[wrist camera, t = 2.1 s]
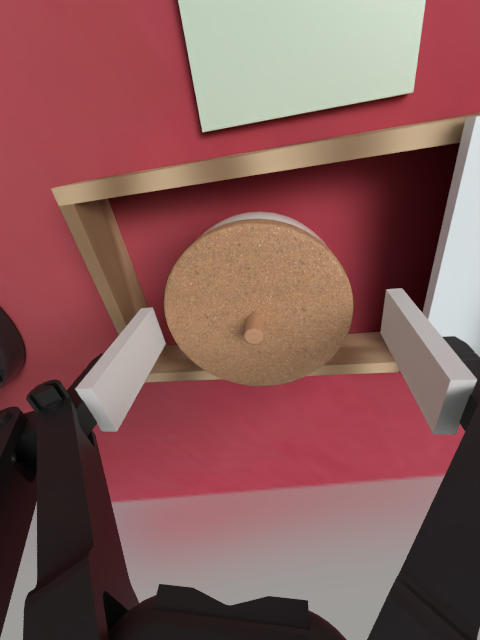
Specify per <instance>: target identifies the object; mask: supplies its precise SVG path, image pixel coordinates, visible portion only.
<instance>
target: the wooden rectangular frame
mask: <svg viewBox="0 0 480 640" xmlns="http://www.w3.org/2000/svg"><path fill="white" fill-rule="evenodd" d="M479 115H480V113H474V114H468V115H462V116H457V117H451V118H445V119H439V120H433V121H428V122H422V123H416V124H410V125H404V126H399V127H393V128H387V129H381V130H375V131H370V132H364V133H358V134H352V135H346V136H341V137H335V138H329V139H323V140H317V141H312V142H306V143H300V144H294V145H288V146H283V147H277V148H271V149H265V150H259V151H254V152H248V153H242V154H236V155H231V156H225V157H219V158H213V159H207V160H202V161H196V162H190V163H184V164H178V165H173V166H167V167H161V168H155V169H149V170H144V171H138V172H132V173H126V174H120V175H115V176H109V177H103V178H97V179H91V180H86V181H82V182H77V183H73V184H69V185H64V186H60V187H55V188H51V190H52V192H53V194H54V197H55V199H56V201H57V203H58V205H59V207H60V210H61V212H62V214H63V216H64V218H65V220H66V223H67V225H68V227H69V229H70V231H71V233H72V236H73V238H74V240H75V242H76V244H77V246H78V249H79V251H80V253H81V255H82V257H83V259H84V261H85V264H86V266H87V268H88V270H89V272H90V274H91V277H92V279H93V281H94V283H95V285H96V287H97V290H98V292H99V294H100V296H101V298H102V300H103V303H104V305H105V307H106V309H107V311H108V313H109V316H110V318H111V320H112V322H113V324H114V326H115V329H116V331H117V333H118V335H120V333H121V332H122V331H123V330H124V329H125V327H126V326H127V325H128V324H129V323H130V321H131V320H132V319H133V318H134V316H135V315H136V314H137V313H138V312H139V310H140V309H141V308H148V305H147V303H146V300H145V297H144V295H143V292H142V289H141V286H140V284H139V281H138V278H137V276H136V273H135V270H134V268H133V265H132V262H131V259H130V257H129V254H128V251H127V249H126V246H125V243H124V241H123V238H122V235H121V233H120V230H119V227H118V224H117V222H116V219H115V216H114V214H113V211H112V208H111V206H110V203H109V200H108V198H113V197H120V196H126V195H132V194H139V193H145V192H151V191H158V190H164V189H170V188H176V187H183V186H189V185H195V184H202V183H208V182H214V181H221V180H227V179H233V178H240V177H246V176H252V175H258V174H265V173H271V172H277V171H284V170H290V169H296V168H303V167H309V166H315V165H321V164H328V163H334V162H340V161H347V160H353V159H359V158H366V157H372V156H378V155H384V154H391V153H397V152H403V151H410V150H416V149H422V148H429V147H435V146H441V145H447V144H454V143H460V142H461V137H462V133H463V128H464V123H465V119H466V118H468V117H474V116H479ZM386 372H401V371H400V369H399V368H398V366H397V364H396V362H395V360H394V358H393V356H392V354H391V352H390V350H389V348H388V346H387V344H386V343H385V341H384V339H383V337H382V335H381V333H380V332H368V333H352V334H348V335H347V337H346V338H345V340H344V342H343V344H342V346H341V347H340V348H339V349H338V351H337V352H336V353H335V355H334V356H333V357H332V358H331V359H330V360H329V361H327V362H326V363H325V364H324V365H323V366H321V367H320V368H319V369H317V370H316V371H314V372H313V373H311V374H309V375H307V376H313V375H337V374H361V373H386ZM215 379H221V378H218V377H216V376H214V375H212V374H210V373H209V372H207V371H205V370H204V369H202V368H201V367H199V366H197V365H196V364H195V363H194V362H193V361H192V360H191V359H190V358H188V357H187V355H186V354H185V353H184V352H183V351H182V350H181V349H180V347H179V346H178V345H165V346H164V348H163V350H162V352H161V353H160V355H159V357H158V359H157V361H156V362H155V364H154V366H153V368H152V370H151V371H150V373H149V375H148V377H147V378H146V380H145V382H166V381H190V380H215Z"/></svg>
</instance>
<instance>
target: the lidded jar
mask: <svg viewBox="0 0 480 640" xmlns="http://www.w3.org/2000/svg"><path fill="white" fill-rule="evenodd" d="M353 310H354V308H353V294H352V290H351V286H350V282H349V280H348V278H347V276H346V273H345V271H344V269H343V267H342V265H341V264H340V262H339V261H338V259H337V258H336V257H335V255H334V254H333V252H332V251H331V250H330V249H329V248H328V247H327V246H326V244H325V243H324V242H323V240H321V239H320V238H319V237H318V236H317V235H316V234H315V233H314V232H313V231H312V230H311V229H309V228H308V227H306V226H305V225H303V224H302V223H300V222H299V221H297V220H294V219H292V218H290V217H288V216H284V215H281V214H277V213H271V212H261V211H260V212H247V213H243V214H238V215H234V216H232V217H229V218H227V219H225V220H222V221H221V222H219V223H217V224H216V225H214V226H213V227H211V228H209V229H208V230H207V231H205V232H204V233H203V234H202V235H201V236H200V237H199V238H197V239H196V240H195V241H194V242H193V243H192V244H191V245H190V246H189V247H188V248H186V250H185V251H184V252H183V253H182V255H181V256H180V257H179V259H178V260H177V261H176V263H175V264H174V266H173V268H172V270H171V272H170V274H169V276H168V279H167V283H166V287H165V292H164V312H165V317H166V321H167V325H168V327H169V330H170V332H171V334H172V336H173V338H174V340H175V341H176V343H177V344H178V346H179V347H180V349H181V350H182V351H183V352H184V353H185V354H186V355H187V357H188V358H190V359H191V360H192V361H193V362H194V363H195V364H196V365H197V366H199V367H201V368H202V369H204V370H205V371H207V372H209V373H210V374H212V375H214V376H216V377H218V378H221V379H224V380H227V381H230V382H234V383H238V384H242V385H251V386H271V385H279V384H284V383H288V382H292V381H295V380H297V379H300V378H303V377H305V376H307V375H309V374H311V373H313V372H314V371H316V370H317V369H319V368H320V367H321V366H323V365H324V364H325V363H326V362H327V361H329V360H330V359H331V358H332V357H333V356H334V355H335V353H336V352H337V351H338V349H339V348H340V347H341V346H342V344H343V342H344V340H345V338H346V337H347V335H348V332H349V329H350V326H351V323H352V317H353Z"/></svg>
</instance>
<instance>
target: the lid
mask: <svg viewBox="0 0 480 640" xmlns="http://www.w3.org/2000/svg"><path fill="white" fill-rule="evenodd" d="M423 314H424V315H425V317H426V318H427V319H428V320H429V322H430V323H431V324H432V325H433V326H434V328H435V329H436V330H437V331H438V332H439V334H440V335H441V336H442V337H448V336H455V337H457V338H459V339H460V340H462V341H464V342H466V343H467V344H468V345H469V346H470V347H471V348H472V349H473V350H474V351H475V353H476V354H477V355H478V356H479V357H480V115H479V116H474V117H468V118H466V119H465V123H464V128H463V133H462V137H461V142H460V146H459V151H458V155H457V160H456V164H455V169H454V173H453V178H452V182H451V187H450V191H449V196H448V200H447V205H446V209H445V214H444V218H443V223H442V227H441V232H440V236H439V241H438V245H437V250H436V254H435V259H434V263H433V268H432V272H431V277H430V281H429V286H428V290H427V295H426V299H425V304H424V308H423Z"/></svg>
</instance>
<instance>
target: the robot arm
mask: <svg viewBox="0 0 480 640" xmlns="http://www.w3.org/2000/svg"><path fill="white" fill-rule="evenodd" d="M380 333H381V335H382V337H383V339H384V341H385V343H386V344H387V346H388V348H389V350H390V352H391V354H392V356H393V358H394V360H395V362H396V364H397V366H398V368H399V369H400V371H401V373H402V375H403V377H404V379H405V381H406V383H407V385H408V387H409V389H410V391H411V392H412V394H413V396H414V398H415V400H416V402H417V404H418V406H419V408H420V410H421V412H422V414H423V416H424V417H425V419H426V421H427V423H428V425H429V427H430V429H431V431H432V433H433V434H456V433H457V430H458V428H459V425H460V424H461V426H462V427H463V429H464V430H465V434H464V436H463V438H462V440H461V442H460V444H459V447H458V449H457V451H456V453H455V455H454V457H453V459H452V462H451V464H450V466H449V468H448V470H447V472H446V474H445V477H444V479H443V481H442V483H441V485H440V487H439V489H438V491H437V494H436V496H435V498H434V500H433V502H432V504H431V506H430V509H429V511H428V513H427V515H426V517H425V519H424V521H423V524H422V526H421V528H420V530H419V532H418V534H417V536H416V539H415V541H414V543H413V545H412V547H411V549H410V552H409V554H408V556H407V558H406V560H405V562H404V564H403V566H402V568H401V571H400V573H399V575H398V576H397V578H396V580H395V582H394V584H393V586H392V588H391V590H390V592H389V594H388V596H387V599H386V601H385V603H384V605H383V607H382V609H381V612H380V613H379V616H378V618H377V620H376V622H375V624H374V626H373V628H372V631H371V633H370V635H369V637H368V639H367V640H477V635H478V631H479V628H480V357H479V356H478V355H477V354H476V353H475V351H474V350H473V349H472V348H471V347H470V346H469V345H468V344H467V343H466V342H464V341H462V340H460V339H459V338H457V337H455V336H448V337H442V336H441V335H440V334H439V332H438V331H437V330H436V329H435V328H434V326H433V325H432V324H431V323H430V322H429V320H428V319H427V318H426V317H425V315H424V314H423V313H422V312H421V311H420V309H419V308H418V307H417V306H416V305H415V303H414V302H413V301H412V300H411V298H410V297H409V296H408V295H407V294H406V292H405V291H404V290H403V289H402V288H397V289H386V294H385V301H384V309H383V317H382V324H381V332H380ZM165 344H166V343H165V340H164V337H163V335H162V332H161V329H160V326H159V323H158V321H157V318H156V315H155V312H154V309H153V307H152V308H141V309H140V310H139V312H138V313H137V314H136V315H135V316H134V318H133V319H132V320H131V321H130V323H129V324H128V325H127V326H126V327H125V329H124V330H123V331H122V332H121V333H120V335H119V336H118V337H117V338H116V340H115V341H114V342H113V343H112V344H111V346H110V347H109V348H108V349H107V351H106V352H105V353H104V354H100V355H99V356H98V357H96V358H95V359H94V360H92V362H91V363H90V364H89V365H88V366H87V369H85V370H84V371H83V372H82V375H80V376H79V377H78V378H77V379H76V380H75V382H74V383H73V384H72V385H71V386H70V387H69V389H68V390H67V391H66V390H65V388H64V387H63V385H62V384H61V382H60V381H59V380H50V381H47V382H44V383H42V384H40V385H38V386H37V387H35V388H34V389H33V390H32V391H31V392H30V393H29V394H28V395H27V398H26V400H27V401H28V402H29V404H30V405H31V406H32V407H33V409H34V410H35V411H32V412H28V413H24V414H23V412H22V411H21V410H20V409H19V408H18V407H9V408H6V409H4V410H1V411H0V636H1V633H2V629H3V625H4V621H5V618H6V614H7V610H8V607H9V603H10V599H11V595H12V592H13V588H14V584H15V580H16V577H17V573H18V569H19V565H20V562H21V558H22V554H23V551H24V547H25V543H26V539H27V535H28V532H29V528H30V524H31V521H32V517H33V513H34V510H35V506H36V502H37V585H36V587H35V589H34V590H32V591H30V592H29V593H28V595H27V597H26V600H25V607H24V628H23V640H346V639H345V638H344V636H343V635H342V634H341V633H340V632H339V631H338V630H337V629H336V628H335V627H333V626H332V625H331V624H330V623H329V622H328V621H326V620H325V619H323V618H321V617H320V616H319V615H317V614H315V613H313V612H311V611H309V610H308V601H306V600H298V599H289V598H280V597H271V596H268V597H264V598H260V599H256V600H252V601H248V602H244V603H239V604H236V605H231V606H230V605H225V604H223V603H221V602H219V601H217V600H215V599H213V598H212V597H210V596H208V595H206V594H204V593H202V592H200V591H198V590H196V589H194V588H190V587H181V586H172V585H163V584H159V587H158V591H157V595H156V596H153V597H151V598H148V599H146V600H144V601H142V602H141V603H139V602H138V599H137V597H136V595H135V593H134V590H133V588H132V586H131V583H130V580H129V576H128V572H127V568H126V564H125V559H124V555H123V551H122V547H121V542H120V538H119V534H118V530H117V525H116V521H115V517H114V513H113V508H112V504H111V500H110V496H109V491H108V487H107V483H106V479H105V474H104V470H103V466H102V462H101V457H100V453H99V449H98V445H97V440H96V436H95V434H94V432H93V431H92V430H93V428H94V426H95V425H96V423H97V424H98V426H99V428H100V429H101V431H102V432H117V431H118V429H119V427H120V425H121V423H122V422H123V420H124V418H125V416H126V414H127V413H128V411H129V409H130V407H131V405H132V404H133V402H134V400H135V398H136V396H137V395H138V393H139V391H140V389H141V387H142V386H143V384H144V382H145V380H146V378H147V377H148V375H149V373H150V371H151V370H152V368H153V366H154V364H155V362H156V361H157V359H158V357H159V355H160V353H161V352H162V350H163V348H164V346H165ZM24 361H25V350H24V345H23V342H22V339H21V337H20V335H19V333H18V331H17V329H16V328H15V326H14V324H13V323H12V322H11V320H10V319H9V318H8V316H7V315H6V314H5V313H4V312H3V310H2V309H1V308H0V388H2V387H3V386H5V385H6V384H7V383H8V382H9V381H10V380H11V379H12V378H13V377H14V376H16V375H17V374H18V373H19V372H20V370H21V369H22V367H23V365H24Z"/></svg>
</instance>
